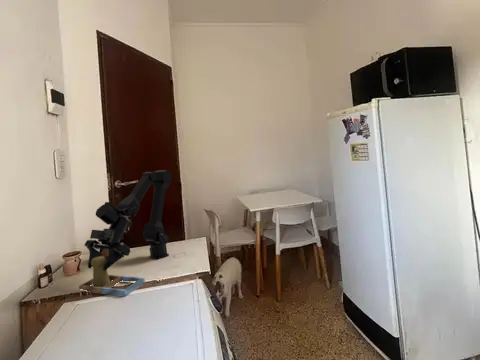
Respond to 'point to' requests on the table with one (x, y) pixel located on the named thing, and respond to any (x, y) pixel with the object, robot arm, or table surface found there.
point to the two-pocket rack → (113, 291)
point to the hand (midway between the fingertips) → (96, 268)
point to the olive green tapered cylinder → (99, 272)
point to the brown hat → (105, 253)
